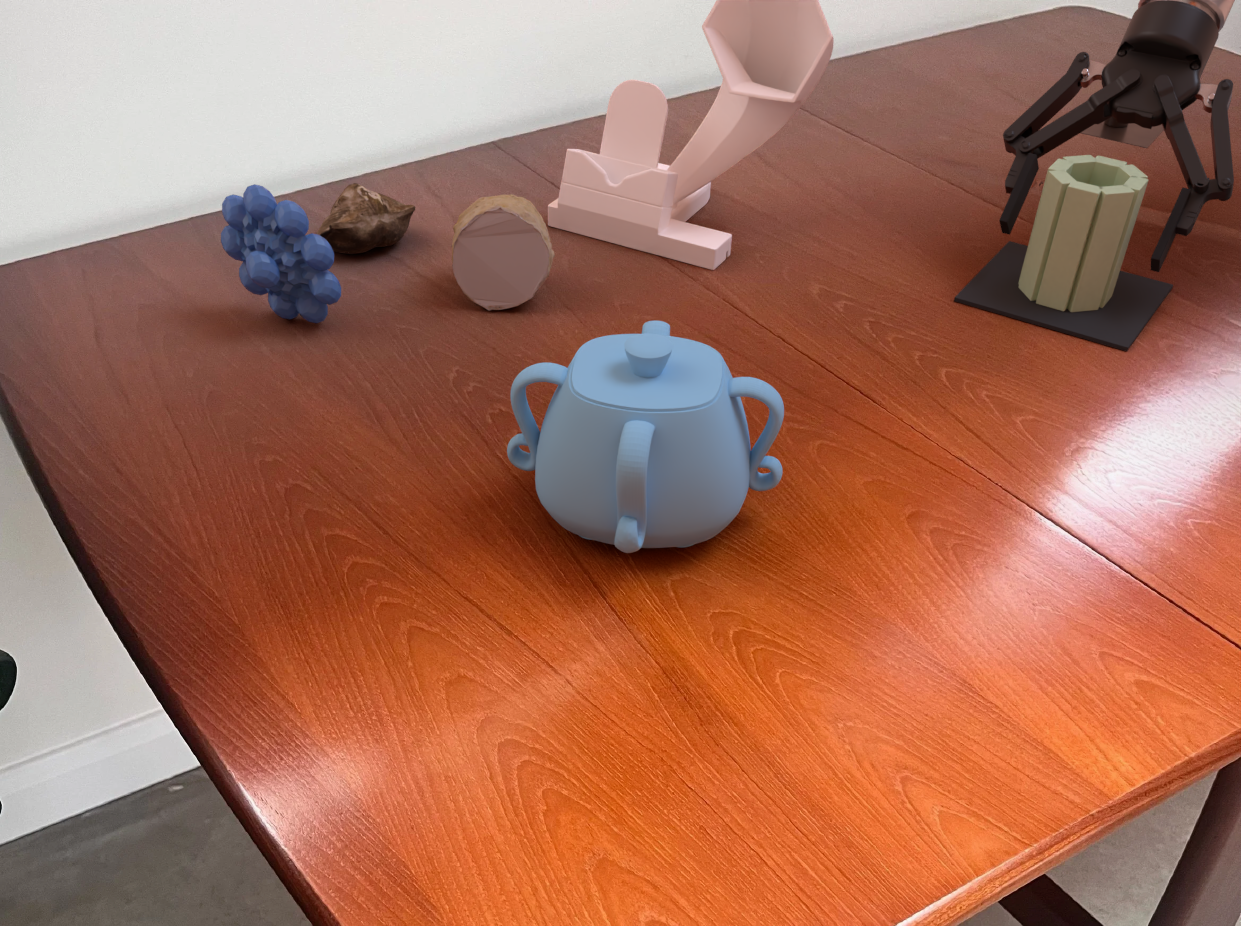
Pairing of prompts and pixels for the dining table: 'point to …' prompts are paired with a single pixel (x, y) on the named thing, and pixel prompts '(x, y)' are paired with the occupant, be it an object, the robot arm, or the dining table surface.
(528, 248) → the bark-rimmed wood disc
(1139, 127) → the stand
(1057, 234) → the fluted octagonal tube
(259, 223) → the grapes
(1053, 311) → the mat
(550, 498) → the decorative pot
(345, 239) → the fossilized seashell
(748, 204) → the dining table surface
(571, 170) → the phone horn amplifier
